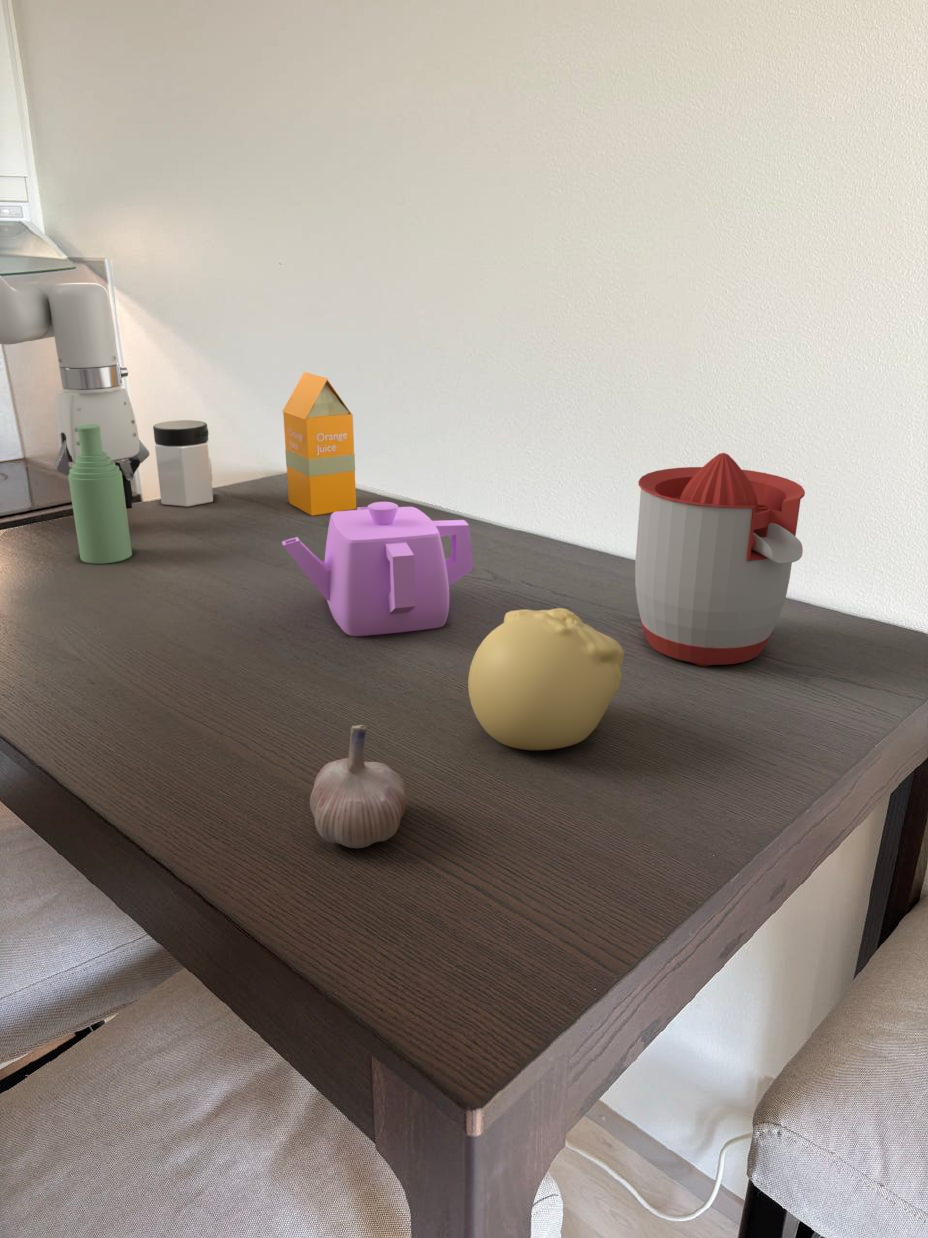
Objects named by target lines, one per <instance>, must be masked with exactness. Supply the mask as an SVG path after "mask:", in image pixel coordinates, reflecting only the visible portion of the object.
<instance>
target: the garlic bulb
mask: <svg viewBox="0 0 928 1238" xmlns="http://www.w3.org/2000/svg"><path fill="white" fill-rule="evenodd" d="M366 733H367V726H366V725H365V724H359V725H352V726H351V727H350V737H349V747H348V757H344V758H342V759H338V760H333V761H330V762H327V763H326V764H325V765H324V766H322V768H321V769H320V770H319V771H318V773H317V774H316V776H315V778H314V783H313V788H312V790H311V793H310V799H309V807H310V811H311V813H312V815H313V817H314V825H315V828H316V831H317V833H318V834H319V836H320V837H321V838H322V839H323V840H324V841H326V842H328V843H330V844H340V845H342V846H343V847H346V848H349V849H363V848H368V847H369V846H372V844H375V843H379V842H386V841H388V840H389V839H391V838H392V837H393V836H394V835H395V834H396V833H397V831H398V829H399V827H400V824H401V819H402V818H403V816H404V814H405V812H406V809H407V788H406V783H405V781H404V780H403V778H402V777H401V775H400V774H398V772H396V771H395V770H393V769H392V768H391V767H390V766H388V765H387V764H385V763H383V762H378V761H365V741H366Z"/></svg>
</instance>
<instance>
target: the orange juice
mask: <svg viewBox="0 0 928 1238" xmlns="http://www.w3.org/2000/svg"><path fill="white" fill-rule="evenodd" d="M281 412H282V414H283V429H284V444H285V449H284V451H285V463H286V464H285V466H286V475H287V476H286V477H287V490H288V491H287V493H288V503H289V504H290V505H292V506H294V507H295V508H297V509H299V510H300V511H302V512H305V513H306V514H308V515H310V516H318V515H324V514H325V515H326V514H332V513H334V512H339V511H350V510H357V491H356V459H355V456H356V455H355V440H354V415H353V413H352V412H351V411H350V410H349V408H348V407H347V405H346V404H345V402H344V401H343V400H342V398H341V397H340V395H339V394H338V393H337V391H336V390H335V388H334V387H333V386H332V384H331V382H330V381H329V378H328V377H324V376H320V375H316V374H313V373H309V372H307V371H306V372H305V371H303V372H302V374H301V376H300V378H299V380H298V382H297V384H296V385H295V387H294V389H293V391H292V393H291V395H290V396H289V398H288V400H287V402H286V403H285V405H284V408H283V409H282V411H281Z"/></svg>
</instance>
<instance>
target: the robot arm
mask: <svg viewBox="0 0 928 1238" xmlns="http://www.w3.org/2000/svg"><path fill="white" fill-rule="evenodd" d="M112 316H113V315H112V309H111V301H110V296H109V292H108V290H107V289H106V288H105V286H103V285H102V284H99V283H95V282H67V283H65V282H64V283H63V282H62V283H51V282H44V281H43V282H42V281H35V280H25V281H18V280H17V281H6V280H5V279H4V278H3V277H2V276H1V275H0V345H17V344H22V343H26V342H32V341H33V342H34V341H39V340H44V339H49V338H54V342H55V350H56V355H57V361H58V366H59V367H58V368H59V372H60V381H61V386H62V390H58V391H56V396H55V427H56V428H55V429H56V439H57V448H58V454H57V455H56V458H55V460H54V463H53V465H52V469H53V470H54V471H55V472H58V473H60V474H62V475H65V476H66V477H68V475H69V474H70V473H69V470H70V469H71V468H72V466H70V465H69V463H73V464H74V463H75V460H76V459H78V455H79V454H81V450H80V443H79V436H78V430H77V427H78V426H80V425H88V424H95V425H99V426H100V429H101V430H100V434H101V441H102V448H103V452H105V453H106V455H107V456H108V457H110V458H111V461H114V462H115V465H117V466H119V470H120V471H121V472H122V479H123V487H124V495H125V503H126V510H129V509H132V508H133V504H132V501H133V499H134V498H133V496H134V495H133V490H132V489H133V488H132V483H131V481H132V480H133V479H134V477H135V476H134V474H135V473H136V472H137V470H138V468H139V467H140V465H141V464H143V462H145V461H146V459H147V458H149V456H150V451H149V450H148V448H147V447H146V446H145V445H144V443H143V442H142V441H141V440H140V438H139V431H138V426H137V422H136V417H135V411H134V409H133V406H132V403H131V399H130V397H129V394H128V390H127V388H126V387H125V386H122V383H123V380H122V379H123V378H126V377H128V376H129V371H128V368H127V367H126V366H120V364H119V361H118V360H119V359H118V353H117V346H116V345H117V344H116V338H115V330H114V323H113V317H112Z"/></svg>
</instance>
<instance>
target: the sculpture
mask: <svg viewBox="0 0 928 1238" xmlns="http://www.w3.org/2000/svg"><path fill="white" fill-rule="evenodd" d="M624 657H625V650H624V649H623V647H622V646H621V644H620V643H619V642H618V641H617V640H616V639H614V638H612V637H610V636H608V635H607V634H605V633H602V632H601V631H600V632H599V631H597V630H596V629H594V628H593V627H592V626H590V625H589V624H587V623H584V621H583V620H582V619H581V617H580V616H578V615H577V614H575V612H573V611H570V610H569V609H567V608H562V607H557V608H551V609H541V610H532V609H525V608H524V609H517V610H509V611H508V612H506V613H505V614H504V618H503V622H502V623H501V624H500V625H498V626H496V627H495V628H494V629H492V630H491V631H490V632H489V633H488V634H487V636H486V637H485V638H484V639H483V640H482V642H481V643H480V644H479V646H478V647H477V649H476V650H475V653H474V655H473V657H472V661H471V663H470V667H469V672H468V680H467V687H468V696H469V701H470V704H471V708H472V710H473V713H474V715H475V717H476V719H477V721H478V722H479V724H480V726H481V727H482V729H484V731H485V732H486V733H487V734H488V735H489V736H490V737H491V738H493V740H496V741H497V742H498V743H500V744H502V745H504V746H506V747H508V748H509V747H510V748H513V749H518V750H525V751H550V750H557V749H563V748H568V747H571V746H574V745H577V744H579V743H581V742H583V741H584V740H586V739H587V738H588V737H589V736H590V735H591V734H592V733H593V732H594V730H595V729H596V728H597V727H598V725H599V723H600V722H601V720H602V718H603V716H604V715H605V713H606V711H607V709H608V708H609V706H610V703H611V701H612V699H613V698H614V696H615V695H616V694H617V693H618V691H619V690H620V687H621V683H620V682H621V681H622V677H623V675H622V671H621V669H622V666H623V663H624Z"/></svg>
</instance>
